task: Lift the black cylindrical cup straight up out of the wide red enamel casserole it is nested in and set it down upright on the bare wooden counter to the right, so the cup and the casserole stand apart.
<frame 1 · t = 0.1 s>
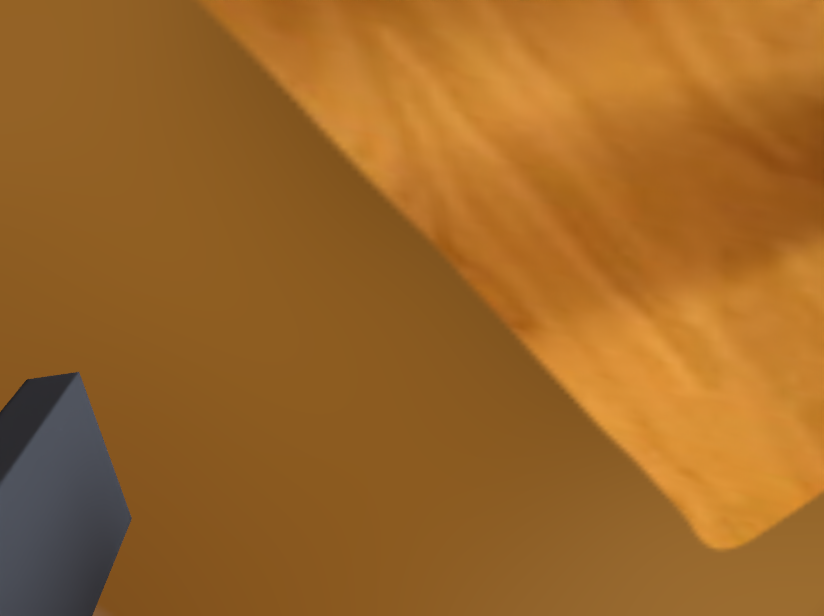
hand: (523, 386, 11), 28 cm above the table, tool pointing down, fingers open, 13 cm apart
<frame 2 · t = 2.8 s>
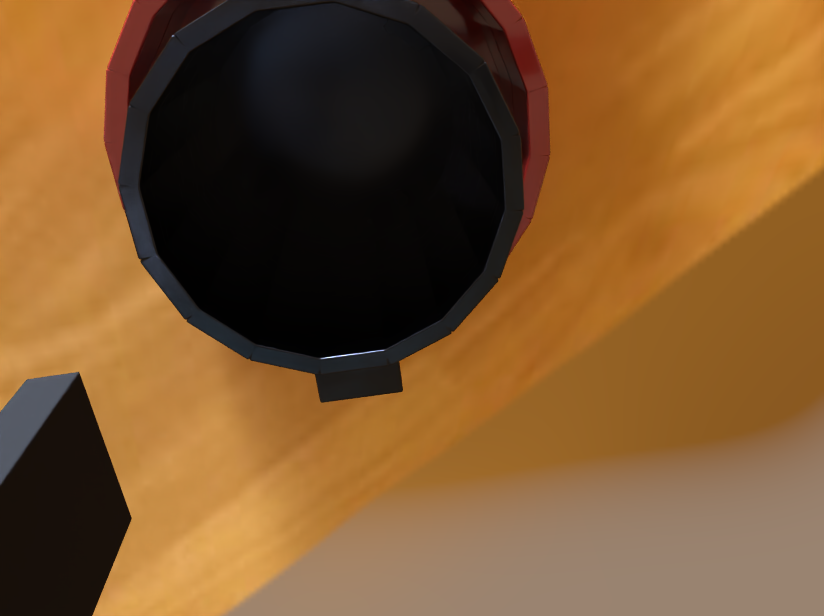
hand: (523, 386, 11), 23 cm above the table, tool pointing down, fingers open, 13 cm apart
casserole: (336, 120, 32), on the table
black cylindrical cup: (336, 123, 31), point 1 cm above the table, touching casserole
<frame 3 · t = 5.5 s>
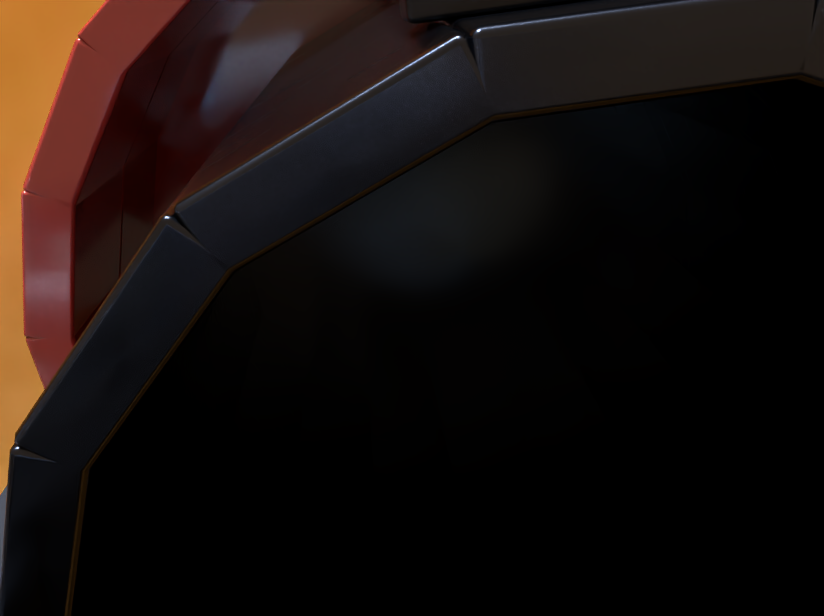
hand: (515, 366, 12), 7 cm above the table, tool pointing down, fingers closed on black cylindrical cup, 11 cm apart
casserole: (456, 230, 18), on the table
black cylindrical cup: (459, 238, 18), point 1 cm above the table, touching casserole, gripper
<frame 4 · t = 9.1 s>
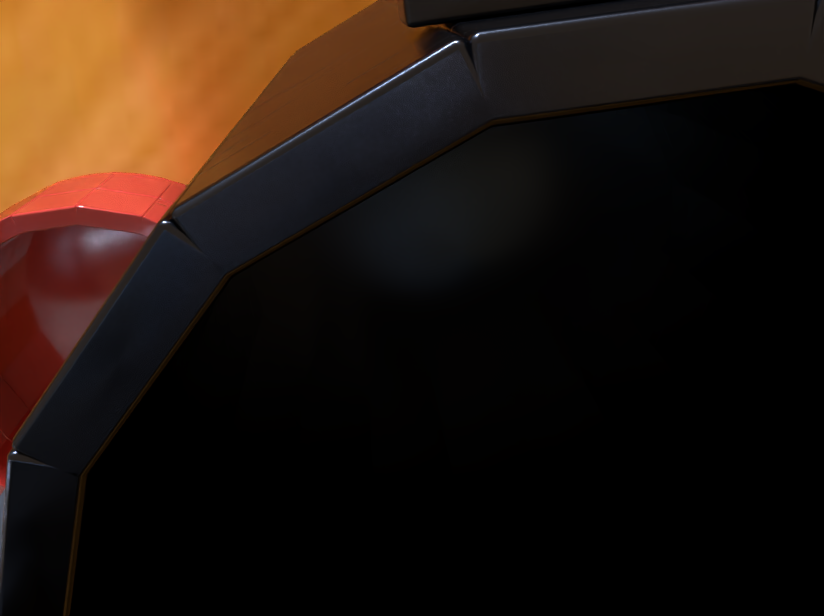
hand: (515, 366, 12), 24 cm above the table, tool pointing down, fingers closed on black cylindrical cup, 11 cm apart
casserole: (139, 327, 37), on the table
black cylindrical cup: (459, 239, 18), point 18 cm above the table, touching gripper
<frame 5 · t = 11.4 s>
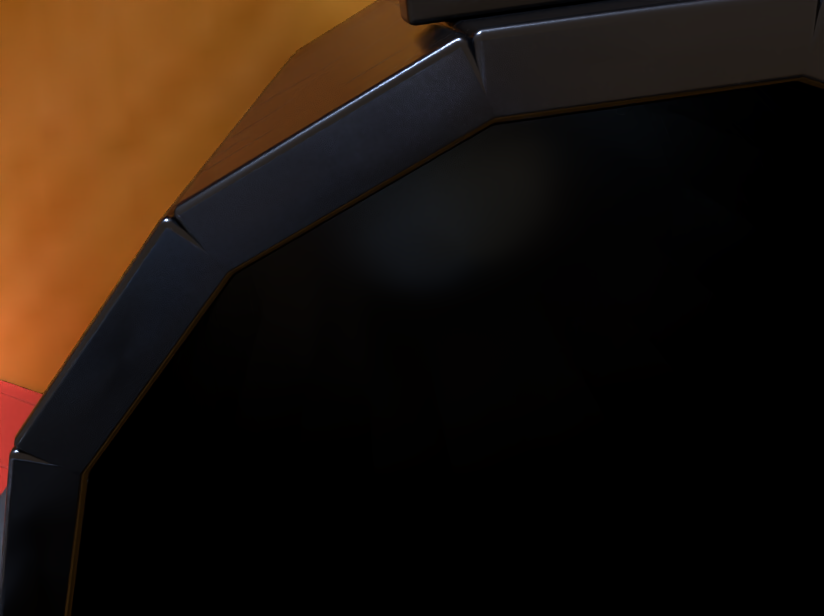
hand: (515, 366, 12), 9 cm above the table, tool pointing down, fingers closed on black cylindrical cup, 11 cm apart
black cylindrical cup: (460, 238, 18), point 2 cm above the table, touching gripper
when the fingers open (6 cm above the table, at t = 12.8 s): black cylindrical cup stays where it is, on the table.
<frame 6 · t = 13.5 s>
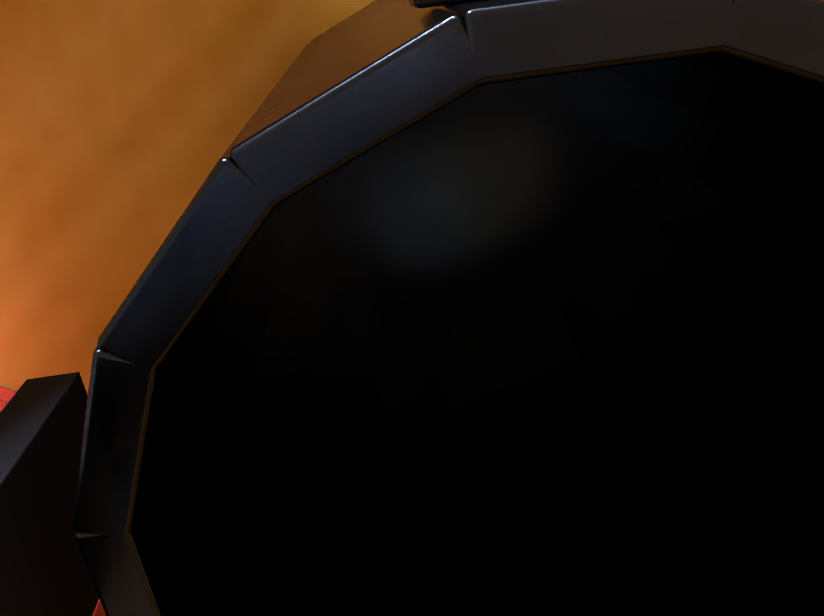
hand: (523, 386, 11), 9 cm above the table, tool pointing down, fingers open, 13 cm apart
black cylindrical cup: (462, 217, 19), on the table
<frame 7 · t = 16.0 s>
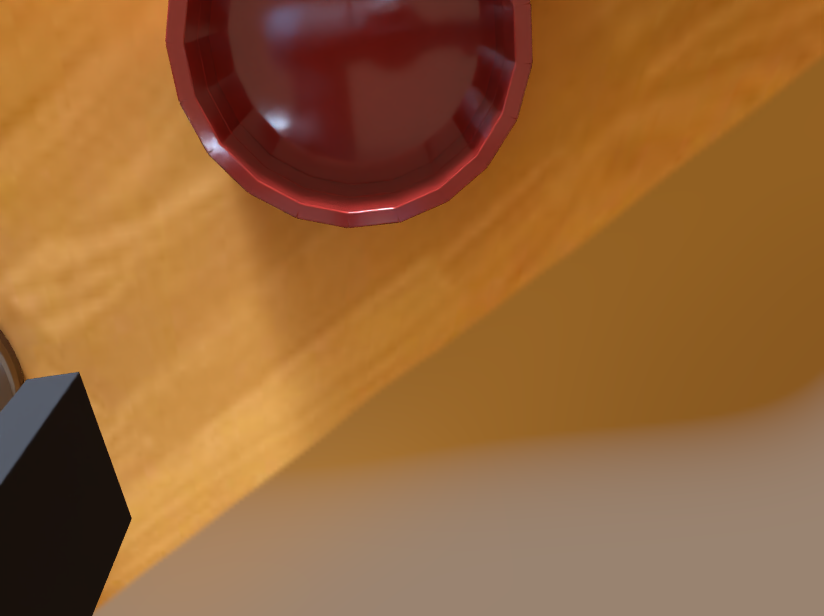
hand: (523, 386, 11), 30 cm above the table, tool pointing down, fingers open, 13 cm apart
casserole: (354, 42, 37), on the table
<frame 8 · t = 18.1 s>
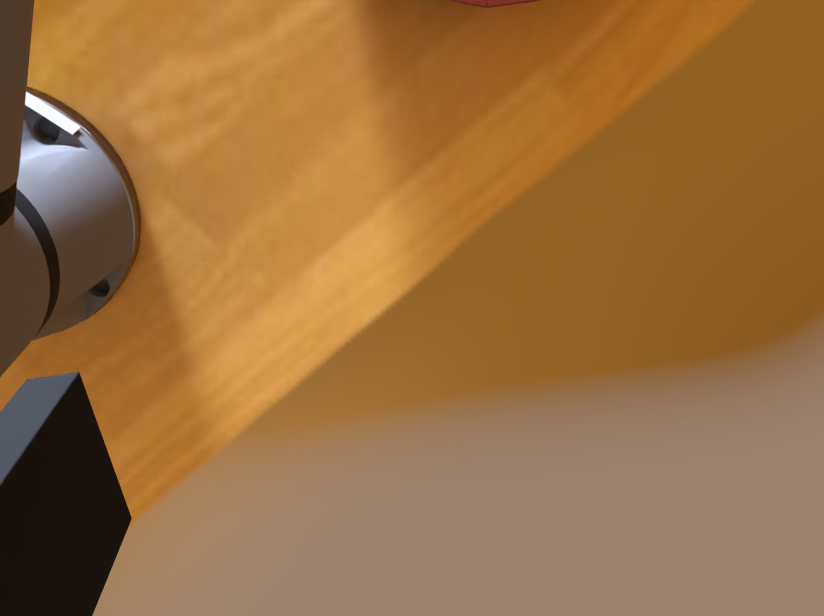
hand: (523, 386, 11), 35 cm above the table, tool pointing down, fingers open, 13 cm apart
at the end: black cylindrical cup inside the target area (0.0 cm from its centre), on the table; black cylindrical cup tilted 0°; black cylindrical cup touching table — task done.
